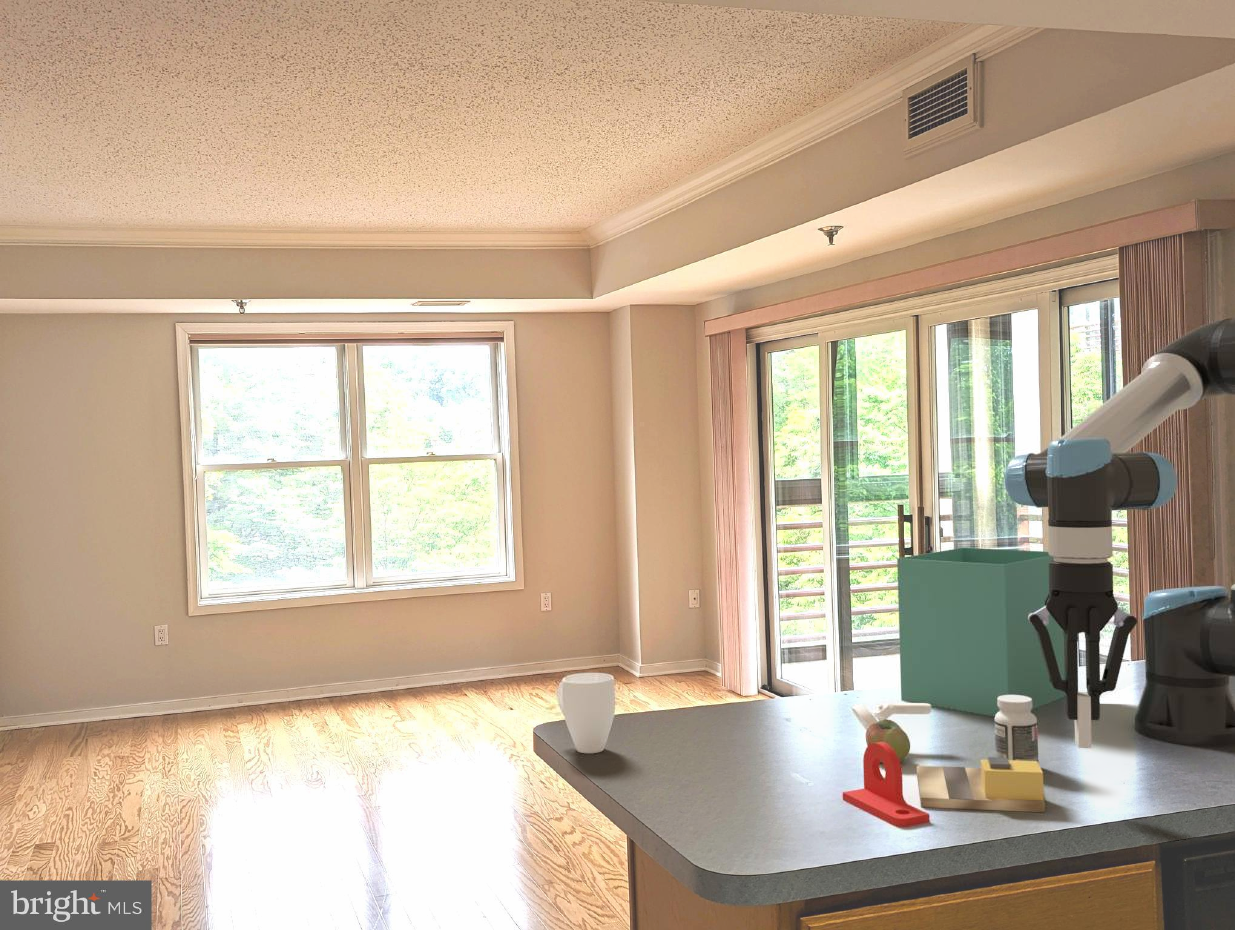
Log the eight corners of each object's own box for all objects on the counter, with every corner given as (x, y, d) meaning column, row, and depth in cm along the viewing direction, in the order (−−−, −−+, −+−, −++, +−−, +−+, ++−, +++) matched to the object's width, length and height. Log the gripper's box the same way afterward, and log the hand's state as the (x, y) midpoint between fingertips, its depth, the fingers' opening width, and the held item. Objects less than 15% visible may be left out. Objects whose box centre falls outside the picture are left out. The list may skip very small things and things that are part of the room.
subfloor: (1029, 778, 148) (1029, 769, 148) (1045, 812, 135) (1044, 802, 135) (916, 774, 152) (916, 765, 152) (921, 806, 138) (920, 797, 138)
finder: (1037, 787, 140) (1037, 756, 140) (1043, 800, 136) (1042, 767, 136) (981, 785, 142) (980, 754, 142) (985, 797, 137) (984, 765, 137)
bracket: (842, 800, 142) (841, 741, 142) (871, 795, 144) (869, 736, 144) (899, 829, 131) (897, 764, 131) (929, 823, 133) (927, 759, 133)
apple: (877, 751, 164) (876, 712, 164) (920, 762, 158) (919, 722, 157) (850, 758, 161) (849, 719, 160) (893, 770, 154) (892, 729, 154)
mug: (627, 749, 169) (625, 677, 169) (584, 760, 164) (582, 685, 164) (582, 735, 178) (580, 666, 178) (540, 745, 173) (538, 674, 173)
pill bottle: (1042, 765, 154) (1040, 696, 154) (1034, 775, 149) (1032, 704, 149) (1001, 760, 157) (999, 692, 157) (991, 770, 153) (989, 700, 152)
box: (967, 680, 211) (963, 547, 210) (1071, 695, 195) (1067, 552, 195) (901, 701, 195) (897, 558, 195) (1009, 720, 180) (1004, 564, 179)
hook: (935, 756, 160) (933, 709, 160) (852, 754, 163) (851, 708, 162) (930, 742, 168) (929, 697, 167) (852, 740, 170) (850, 696, 170)
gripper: (1128, 557, 139) (1131, 739, 139) (1021, 556, 142) (1024, 735, 142) (1143, 562, 131) (1146, 755, 131) (1029, 562, 134) (1032, 750, 134)
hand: (1083, 745), depth 137 cm, fingers closed
